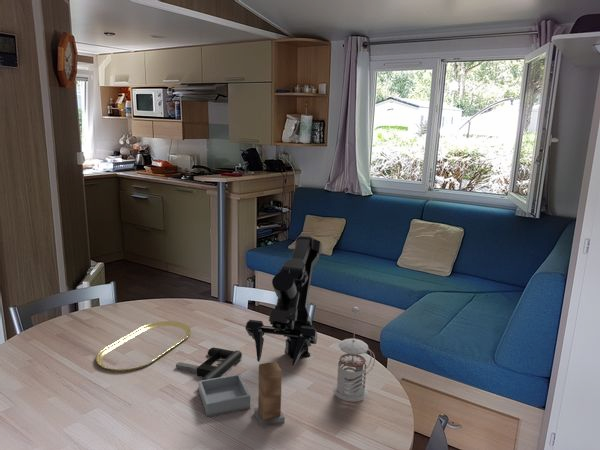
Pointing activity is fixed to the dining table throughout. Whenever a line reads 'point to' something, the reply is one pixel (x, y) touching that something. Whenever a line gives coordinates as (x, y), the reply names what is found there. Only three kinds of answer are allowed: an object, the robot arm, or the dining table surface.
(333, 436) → the dining table surface
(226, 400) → the tray
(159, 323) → the gold oval ring
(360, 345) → the french press
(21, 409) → the dining table surface
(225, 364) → the door handle
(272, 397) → the wooden post on base
